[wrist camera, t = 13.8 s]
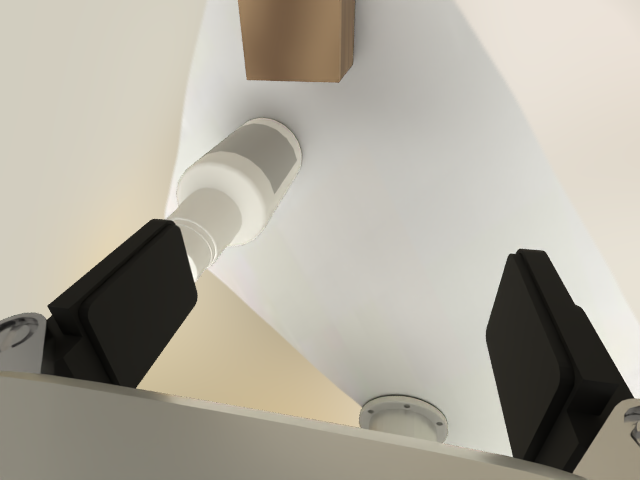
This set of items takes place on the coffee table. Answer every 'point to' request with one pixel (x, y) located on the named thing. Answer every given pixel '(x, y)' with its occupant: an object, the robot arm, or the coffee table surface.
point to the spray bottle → (235, 190)
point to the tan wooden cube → (297, 39)
